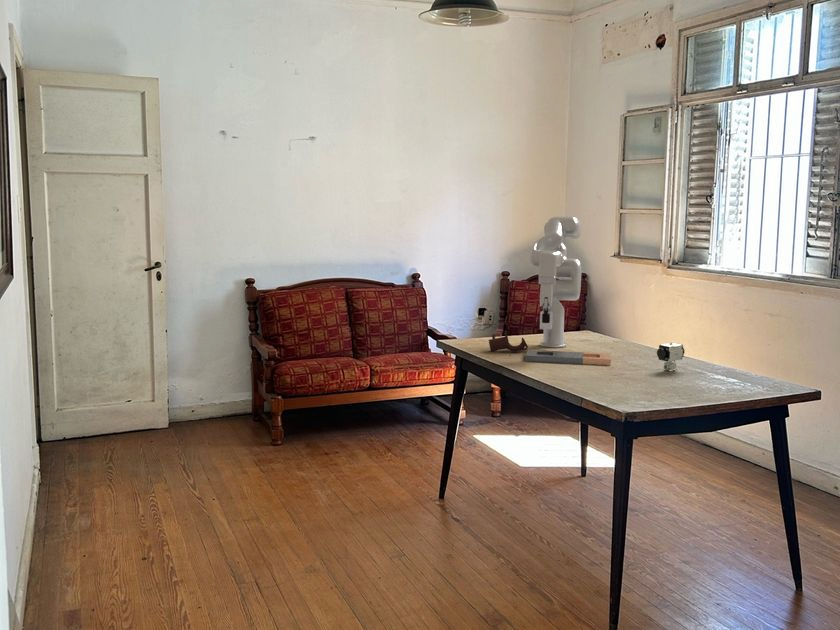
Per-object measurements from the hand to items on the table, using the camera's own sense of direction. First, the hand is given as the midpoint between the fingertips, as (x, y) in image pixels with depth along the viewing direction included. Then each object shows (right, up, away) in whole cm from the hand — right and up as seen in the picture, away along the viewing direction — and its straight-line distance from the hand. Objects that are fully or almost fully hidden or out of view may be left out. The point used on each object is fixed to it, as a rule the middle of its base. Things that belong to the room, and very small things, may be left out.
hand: (546, 321), depth 352 cm
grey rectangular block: (0, -3, 0) cm, 3 cm away
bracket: (-15, -14, +19) cm, 28 cm away
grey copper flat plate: (+10, -17, 0) cm, 19 cm away
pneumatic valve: (+48, -20, -20) cm, 56 cm away
